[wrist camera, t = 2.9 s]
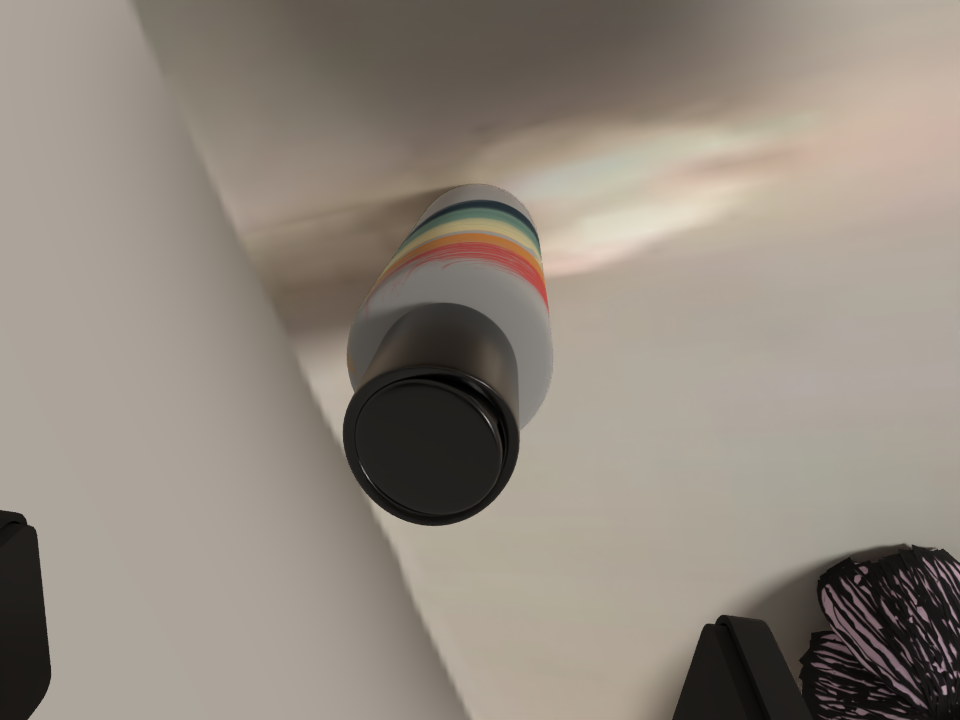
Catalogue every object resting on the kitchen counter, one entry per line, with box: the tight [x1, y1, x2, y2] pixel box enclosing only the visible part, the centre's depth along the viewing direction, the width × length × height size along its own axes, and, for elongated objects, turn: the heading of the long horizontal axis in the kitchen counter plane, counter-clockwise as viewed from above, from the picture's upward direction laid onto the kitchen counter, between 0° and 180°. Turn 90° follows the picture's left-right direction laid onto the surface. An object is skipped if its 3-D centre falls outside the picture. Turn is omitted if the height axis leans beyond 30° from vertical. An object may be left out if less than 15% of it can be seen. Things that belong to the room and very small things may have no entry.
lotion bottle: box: [343, 184, 553, 526], centre depth 24 cm, size 6×6×20 cm
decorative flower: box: [799, 545, 960, 720], centre depth 36 cm, size 14×12×15 cm
